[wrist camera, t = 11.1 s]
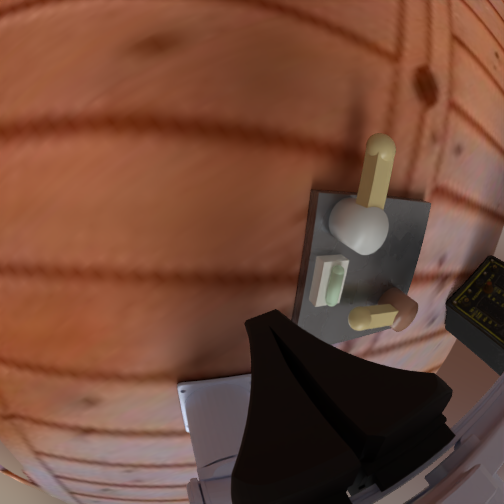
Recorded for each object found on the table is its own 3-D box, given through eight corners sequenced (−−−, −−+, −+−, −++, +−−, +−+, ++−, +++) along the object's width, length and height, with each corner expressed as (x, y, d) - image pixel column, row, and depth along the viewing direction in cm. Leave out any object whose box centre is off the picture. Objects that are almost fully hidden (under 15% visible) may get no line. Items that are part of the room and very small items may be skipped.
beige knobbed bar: (404, 286, 27) (424, 301, 24) (392, 314, 28) (411, 330, 25) (343, 289, 24) (364, 308, 21) (331, 322, 25) (350, 343, 22)
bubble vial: (332, 296, 24) (344, 308, 22) (308, 299, 23) (320, 313, 21) (341, 254, 22) (355, 264, 20) (316, 255, 22) (330, 267, 20)
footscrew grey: (358, 241, 22) (383, 257, 19) (324, 239, 21) (348, 256, 18) (380, 138, 19) (409, 142, 16) (346, 126, 18) (375, 127, 15)
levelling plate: (389, 321, 30) (395, 326, 29) (287, 345, 26) (291, 353, 25) (422, 200, 25) (431, 203, 24) (311, 189, 21) (319, 192, 19)
